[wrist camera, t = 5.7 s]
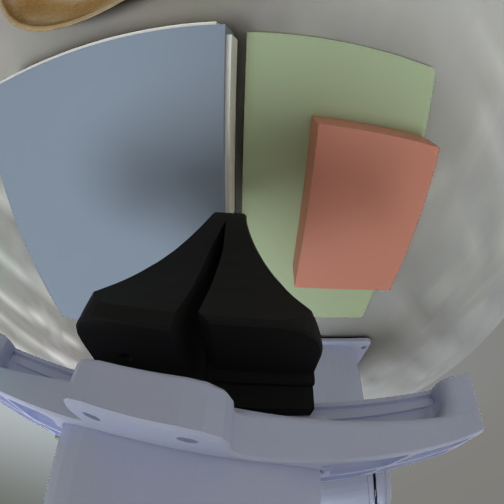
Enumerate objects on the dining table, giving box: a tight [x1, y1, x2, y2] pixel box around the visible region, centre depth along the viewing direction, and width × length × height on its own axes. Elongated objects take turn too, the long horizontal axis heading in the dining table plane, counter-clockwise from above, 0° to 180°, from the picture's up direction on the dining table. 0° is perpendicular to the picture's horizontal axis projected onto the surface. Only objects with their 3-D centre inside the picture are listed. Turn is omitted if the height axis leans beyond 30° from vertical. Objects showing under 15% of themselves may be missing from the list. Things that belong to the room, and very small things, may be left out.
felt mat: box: [242, 32, 435, 318], centre depth 15 cm, size 18×9×1 cm, turn 178°
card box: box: [293, 116, 440, 290], centre depth 14 cm, size 9×6×2 cm, turn 178°
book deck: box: [0, 21, 238, 320], centre depth 14 cm, size 18×14×3 cm
